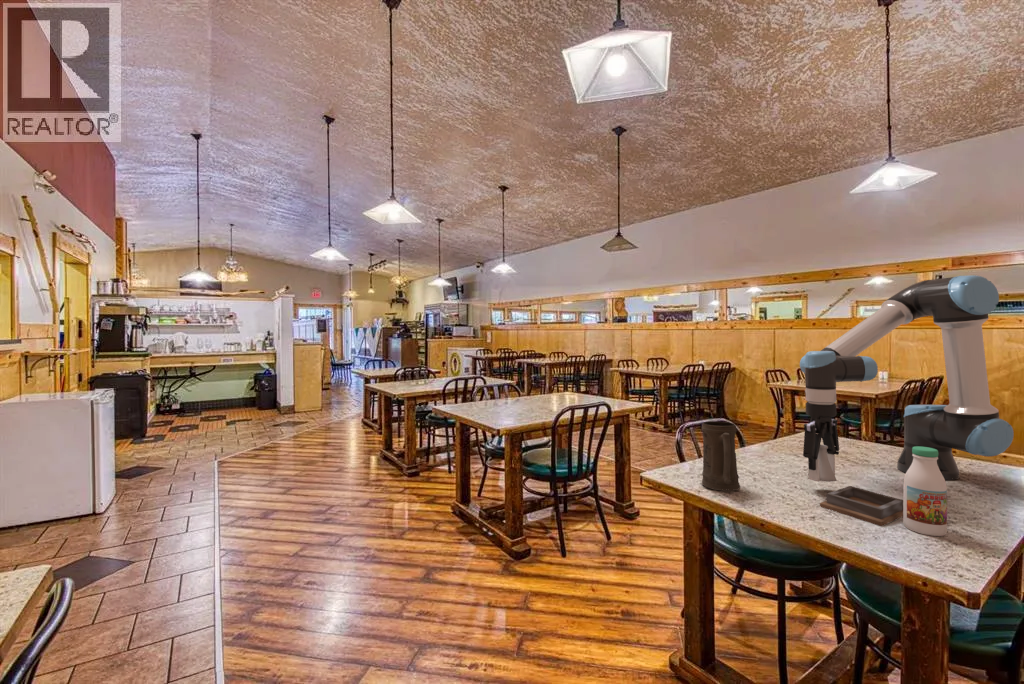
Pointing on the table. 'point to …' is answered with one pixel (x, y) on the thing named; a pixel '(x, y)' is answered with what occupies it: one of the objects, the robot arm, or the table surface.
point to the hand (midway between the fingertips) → (821, 477)
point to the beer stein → (719, 456)
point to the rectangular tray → (864, 505)
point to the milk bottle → (925, 494)
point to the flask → (825, 465)
